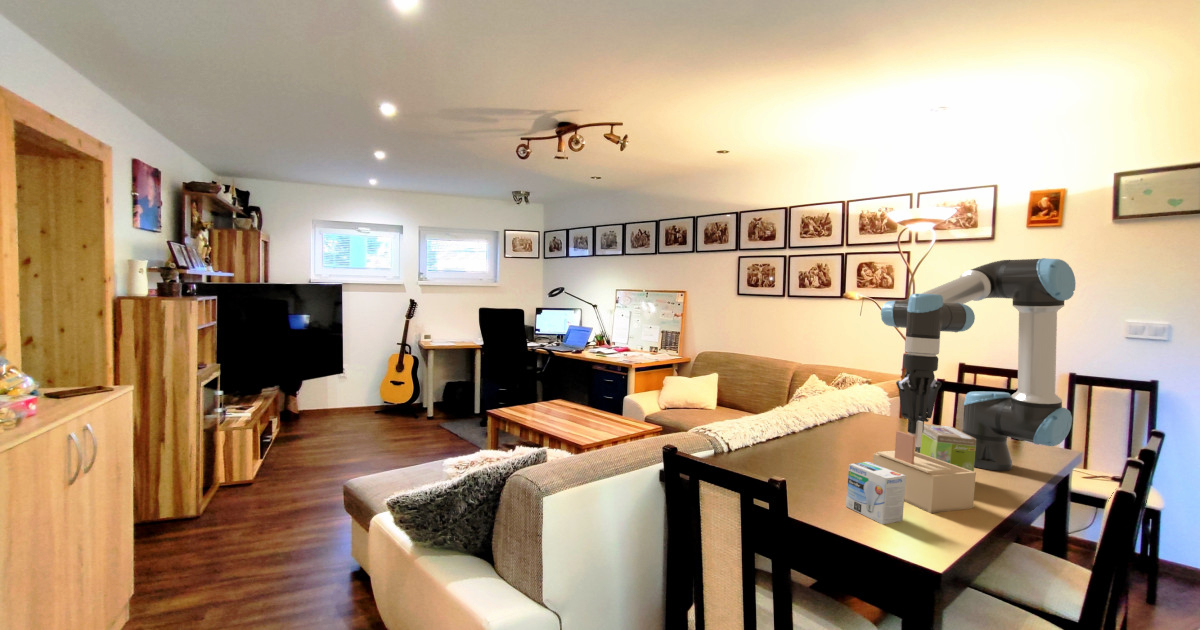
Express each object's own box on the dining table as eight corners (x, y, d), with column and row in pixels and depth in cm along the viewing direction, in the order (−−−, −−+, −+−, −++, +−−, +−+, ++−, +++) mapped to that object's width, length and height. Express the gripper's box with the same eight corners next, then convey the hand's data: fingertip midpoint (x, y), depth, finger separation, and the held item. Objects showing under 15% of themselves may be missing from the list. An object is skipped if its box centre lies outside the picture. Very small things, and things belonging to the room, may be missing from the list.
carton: (910, 482, 150) (912, 450, 149) (973, 508, 133) (975, 472, 132) (871, 486, 145) (873, 453, 145) (930, 513, 128) (933, 476, 128)
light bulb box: (844, 506, 130) (847, 463, 130) (864, 503, 133) (867, 460, 132) (883, 525, 120) (886, 478, 120) (904, 521, 123) (907, 475, 122)
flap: (897, 452, 146) (899, 425, 146) (951, 471, 131) (953, 440, 131) (876, 453, 144) (878, 426, 143) (928, 473, 129) (930, 442, 129)
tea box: (973, 492, 144) (978, 438, 143) (932, 488, 146) (936, 434, 145) (949, 474, 159) (952, 425, 158) (912, 470, 161) (915, 422, 160)
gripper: (927, 352, 142) (920, 440, 143) (889, 352, 138) (882, 442, 139) (953, 356, 135) (946, 448, 136) (914, 355, 131) (907, 451, 132)
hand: (914, 445), depth 137 cm, fingers closed
